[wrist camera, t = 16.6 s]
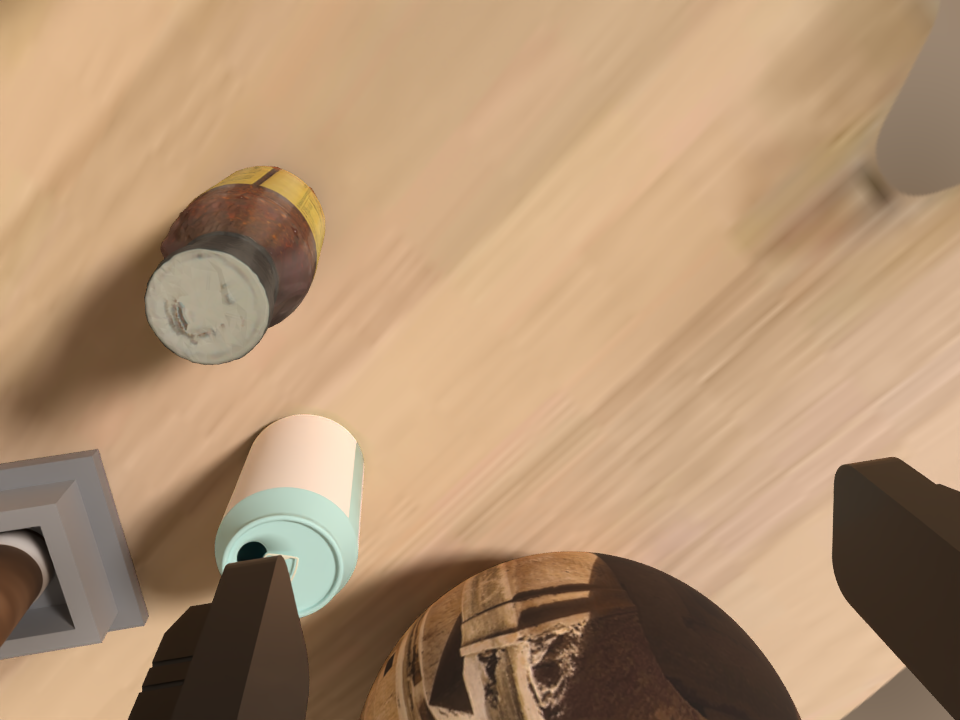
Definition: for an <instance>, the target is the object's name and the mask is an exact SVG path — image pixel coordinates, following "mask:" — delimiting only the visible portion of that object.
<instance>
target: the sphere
mask: <svg viewBox="0 0 960 720" xmlns="http://www.w3.org/2000/svg"><path fill="white" fill-rule="evenodd" d="M359 720H801V718H800V716H799V713H798V711H797V709H796V707H795V705H794V703H793V701H792V699H791V697H790V695H789V693H788V691H787V689H786V687H785V686H784V684H783V682H782V681H781V679H780V677H779V676H778V674H777V673H776V671H775V669H774V668H773V666H772V665H771V664H770V662H769V661H768V659H767V658H766V657H765V655H764V654H763V653H762V651H761V650H760V649H759V647H758V646H757V645H756V644H755V643H754V641H753V640H752V639H751V638H750V637H749V636H748V635H747V633H746V632H745V631H744V630H743V629H742V628H741V627H740V626H739V625H738V624H737V623H736V622H735V621H734V620H733V619H732V618H731V617H730V616H729V615H727V614H726V613H725V612H724V611H723V610H722V609H721V608H719V607H718V606H717V605H716V604H714V603H713V602H712V601H711V600H709V599H708V598H706V597H705V596H704V595H702V594H701V593H699V592H698V591H696V590H695V589H693V588H692V587H690V586H689V585H687V584H685V583H683V582H682V581H680V580H678V579H676V578H674V577H672V576H670V575H668V574H666V573H664V572H662V571H660V570H657V569H655V568H653V567H650V566H647V565H645V564H642V563H639V562H636V561H632V560H629V559H625V558H621V557H617V556H612V555H606V554H600V553H591V552H551V553H543V554H536V555H531V556H526V557H522V558H518V559H514V560H511V561H508V562H505V563H502V564H499V565H496V566H494V567H491V568H489V569H487V570H484V571H482V572H480V573H478V574H476V575H474V576H472V577H471V578H469V579H467V580H465V581H464V582H462V583H460V584H459V585H457V586H456V587H454V588H453V589H451V590H450V591H449V592H447V593H446V594H445V595H443V596H442V597H441V598H439V599H438V600H437V601H436V602H435V603H433V604H432V605H431V606H430V607H429V608H428V609H427V610H426V611H425V612H424V613H423V614H422V615H421V616H420V617H419V618H418V619H417V620H416V621H415V622H414V623H413V624H412V625H411V626H410V628H409V629H408V630H407V631H406V632H405V634H404V635H403V636H402V637H401V639H400V640H399V641H398V643H397V644H396V646H395V647H394V648H393V650H392V651H391V653H390V654H389V656H388V658H387V659H386V661H385V663H384V664H383V666H382V668H381V669H380V671H379V673H378V675H377V677H376V679H375V681H374V683H373V685H372V687H371V690H370V692H369V694H368V697H367V699H366V702H365V704H364V707H363V710H362V713H361V716H360V719H359Z"/></svg>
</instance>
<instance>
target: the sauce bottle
mask: <svg viewBox="0 0 960 720" xmlns="http://www.w3.org/2000/svg"><path fill="white" fill-rule="evenodd" d="M324 234H325V217H324V214H323V211H322V208H321V205H320V203H319V201H318V199H317V197H316V195H315V193H314V191H313V190H312V188H310V187H308V186H307V185H306V184H305V183H304V182H303V181H302V180H301V179H299V178H298V177H296V176H295V175H293V174H291V173H290V172H287V171H285V170H282V169H280V168H278V167H269V166H256V167H250V168H245V169H242V170H239V171H236V172H235V173H233V174H231V175H230V176H228V177H227V178H225V179H224V180H222V181H221V182H219V183H218V184H216V185H215V186H213V187H212V188H210V189H208V190H207V191H205V192H204V193H202V194H201V195H199V196H198V197H197V198H195V199H194V200H193V201H192V202H191V203H190V204H189V205H188V206H187V207H186V209H185V210H184V211H183V212H181V213H180V215H179V217H178V218H177V219H176V221H175V222H174V223H173V224H172V226H171V228H170V231H169V233H168V235H167V237H166V238H165V240H164V241H163V242H162V245H161V252H162V255H163V257H164V260H163V261H162V262H161V263H160V264H159V265H158V267H157V268H156V270H155V271H154V273H153V274H152V276H151V278H150V279H149V281H148V283H147V289H146V293H145V297H144V298H145V311H146V317H147V321H148V323H149V325H150V327H151V328H152V330H153V331H154V333H155V334H156V336H157V337H158V338H159V340H160V341H161V342H162V343H163V344H164V346H165V347H167V348H168V349H169V350H171V351H172V352H173V353H175V354H176V355H178V356H179V357H182V358H184V359H187V360H189V361H191V362H193V363H199V364H204V365H214V364H223V363H227V362H231V361H233V360H236V359H240V358H242V357H243V356H245V355H246V354H247V353H249V352H250V351H251V350H252V349H253V348H254V347H255V346H256V345H257V344H258V343H259V342H260V340H261V339H262V337H263V335H264V334H265V333H266V331H267V329H268V328H270V327H272V326H274V325H276V324H278V323H280V322H281V321H283V320H284V319H285V318H286V317H288V316H289V315H290V314H291V313H292V312H294V311H295V309H296V308H297V307H298V306H299V305H300V303H301V302H302V301H303V299H304V297H305V296H306V294H307V293H308V290H309V288H310V286H311V284H312V281H313V279H314V276H315V273H316V269H317V264H318V260H319V256H320V251H321V248H322V244H323V239H324Z"/></svg>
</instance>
